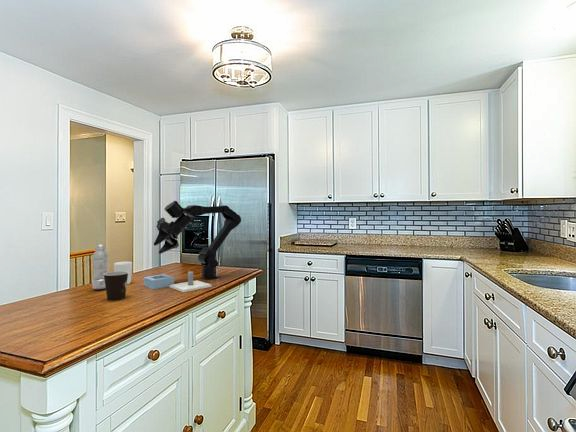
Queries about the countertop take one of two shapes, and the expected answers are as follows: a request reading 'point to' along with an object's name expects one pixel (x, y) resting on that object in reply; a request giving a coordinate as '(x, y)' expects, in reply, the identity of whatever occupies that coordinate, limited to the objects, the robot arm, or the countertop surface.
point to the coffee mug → (116, 285)
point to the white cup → (124, 269)
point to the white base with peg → (190, 284)
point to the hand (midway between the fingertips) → (156, 249)
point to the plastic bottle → (100, 266)
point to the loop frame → (158, 281)
